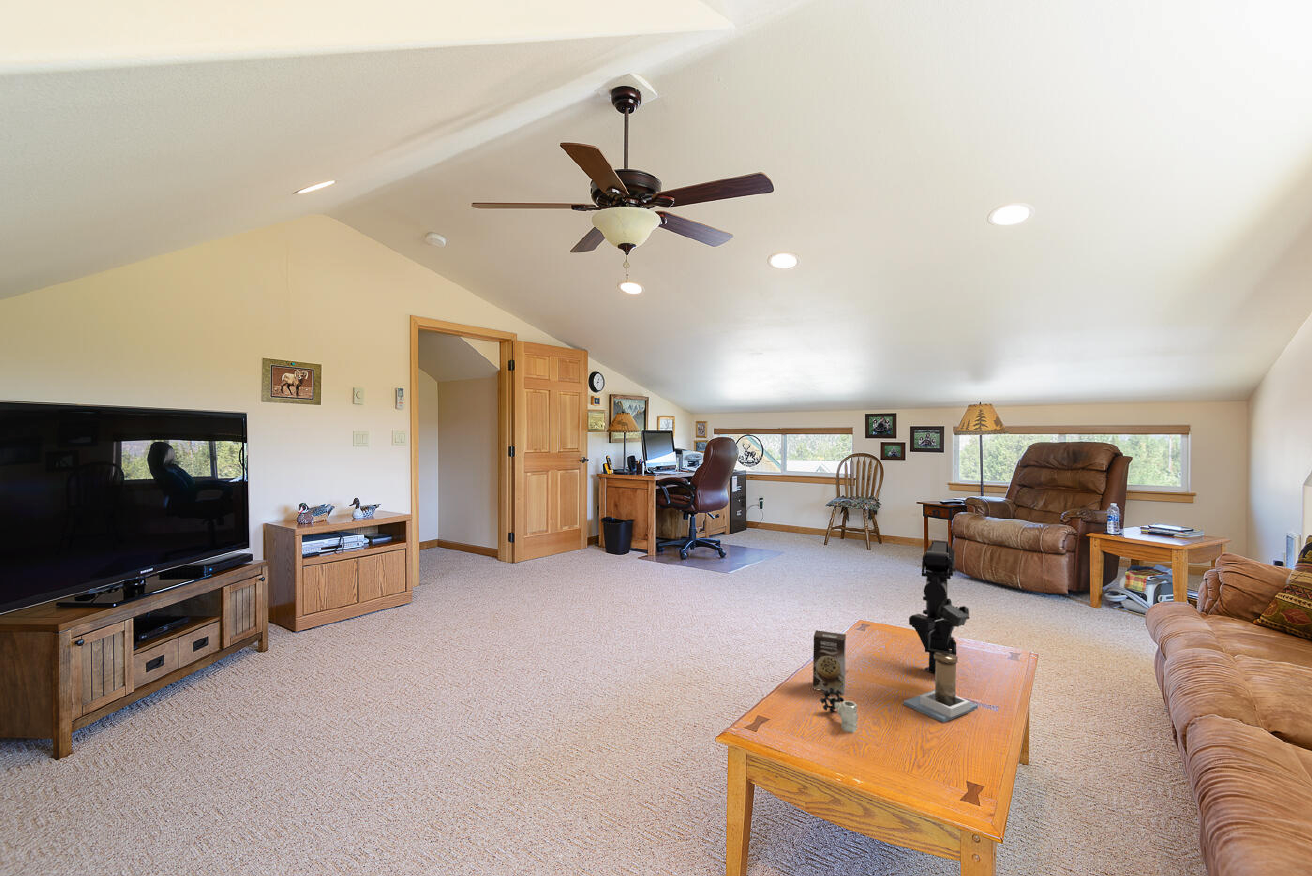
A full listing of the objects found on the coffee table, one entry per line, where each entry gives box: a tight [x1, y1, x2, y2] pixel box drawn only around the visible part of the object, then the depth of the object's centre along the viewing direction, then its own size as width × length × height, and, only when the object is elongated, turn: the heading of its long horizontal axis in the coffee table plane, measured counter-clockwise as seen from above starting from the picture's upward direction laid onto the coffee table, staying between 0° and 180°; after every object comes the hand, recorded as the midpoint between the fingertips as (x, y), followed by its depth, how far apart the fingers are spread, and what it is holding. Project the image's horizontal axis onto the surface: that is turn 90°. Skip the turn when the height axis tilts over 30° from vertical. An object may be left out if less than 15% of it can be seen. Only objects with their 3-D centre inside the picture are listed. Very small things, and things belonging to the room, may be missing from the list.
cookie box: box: [812, 629, 847, 696], centre depth 170 cm, size 9×6×16 cm
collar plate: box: [902, 689, 979, 724], centre depth 159 cm, size 16×12×3 cm
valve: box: [819, 688, 859, 734], centre depth 150 cm, size 7×7×12 cm
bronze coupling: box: [934, 652, 959, 707], centre depth 157 cm, size 6×6×14 cm
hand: (936, 646), depth 170 cm, fingers open, 9 cm apart
